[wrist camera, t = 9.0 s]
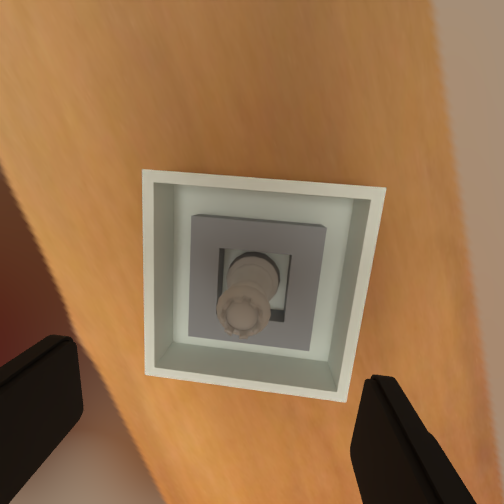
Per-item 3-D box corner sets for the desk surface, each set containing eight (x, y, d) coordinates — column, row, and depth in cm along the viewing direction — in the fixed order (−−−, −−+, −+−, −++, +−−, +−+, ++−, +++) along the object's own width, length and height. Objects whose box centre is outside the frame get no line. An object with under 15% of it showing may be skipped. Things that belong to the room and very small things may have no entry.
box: (169, 174, 22) (141, 169, 17) (363, 189, 21) (386, 187, 16) (167, 343, 25) (144, 374, 21) (333, 365, 24) (346, 402, 20)
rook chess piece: (291, 280, 22) (298, 326, 14) (250, 309, 23) (236, 368, 15) (257, 239, 22) (246, 264, 14) (217, 271, 22) (185, 311, 15)
